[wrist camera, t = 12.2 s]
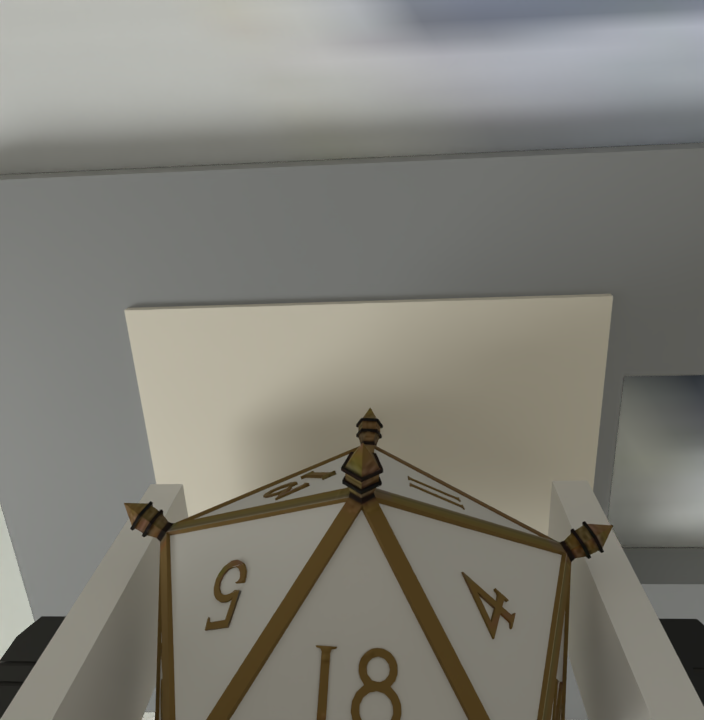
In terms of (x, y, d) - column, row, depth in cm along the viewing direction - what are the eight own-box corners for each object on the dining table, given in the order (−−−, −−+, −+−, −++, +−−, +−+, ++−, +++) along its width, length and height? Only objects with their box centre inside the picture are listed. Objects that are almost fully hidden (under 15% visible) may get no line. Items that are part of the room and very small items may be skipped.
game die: (415, 395, 18) (826, 454, 9) (404, 702, 18) (798, 1054, 9) (59, 398, 13) (181, 514, 5) (48, 803, 14) (148, 1660, 5)
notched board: (82, 671, 22) (57, 716, 20) (-50, 176, 16) (-99, 185, 14) (702, 679, 20) (729, 729, 18) (812, 137, 14) (864, 141, 13)
